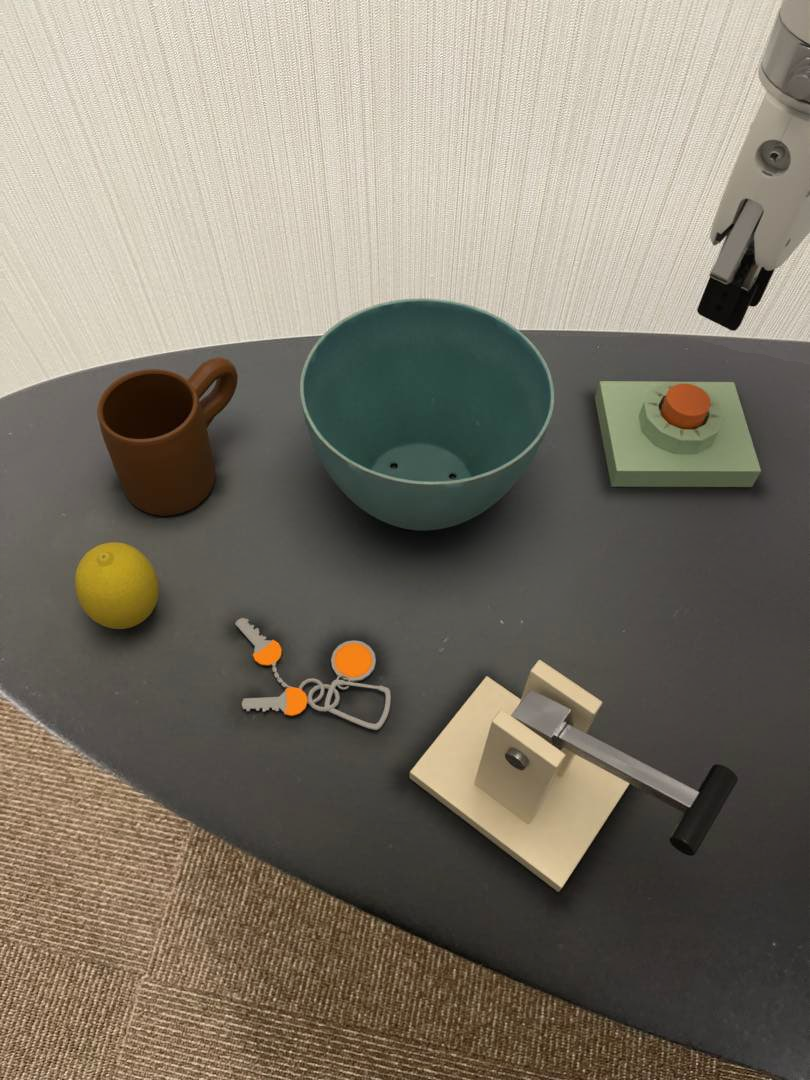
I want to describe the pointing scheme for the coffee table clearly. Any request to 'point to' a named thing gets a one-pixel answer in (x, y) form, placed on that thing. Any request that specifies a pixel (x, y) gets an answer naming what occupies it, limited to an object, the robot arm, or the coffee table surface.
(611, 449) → the button block
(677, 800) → the lever
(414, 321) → the plant pot
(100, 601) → the lemon
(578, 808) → the bracket
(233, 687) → the coffee table surface
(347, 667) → the key chain
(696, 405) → the button
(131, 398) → the mug
